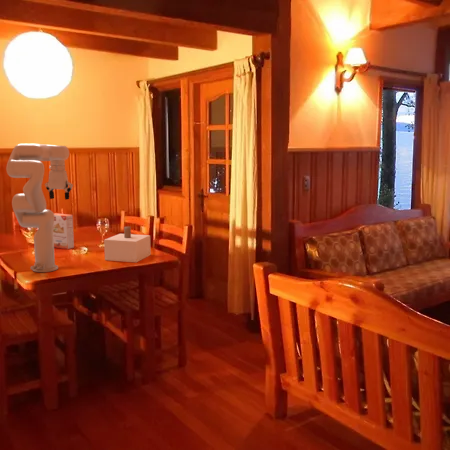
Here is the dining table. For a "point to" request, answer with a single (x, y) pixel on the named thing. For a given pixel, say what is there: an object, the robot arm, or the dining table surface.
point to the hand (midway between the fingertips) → (59, 198)
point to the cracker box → (63, 231)
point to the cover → (127, 247)
